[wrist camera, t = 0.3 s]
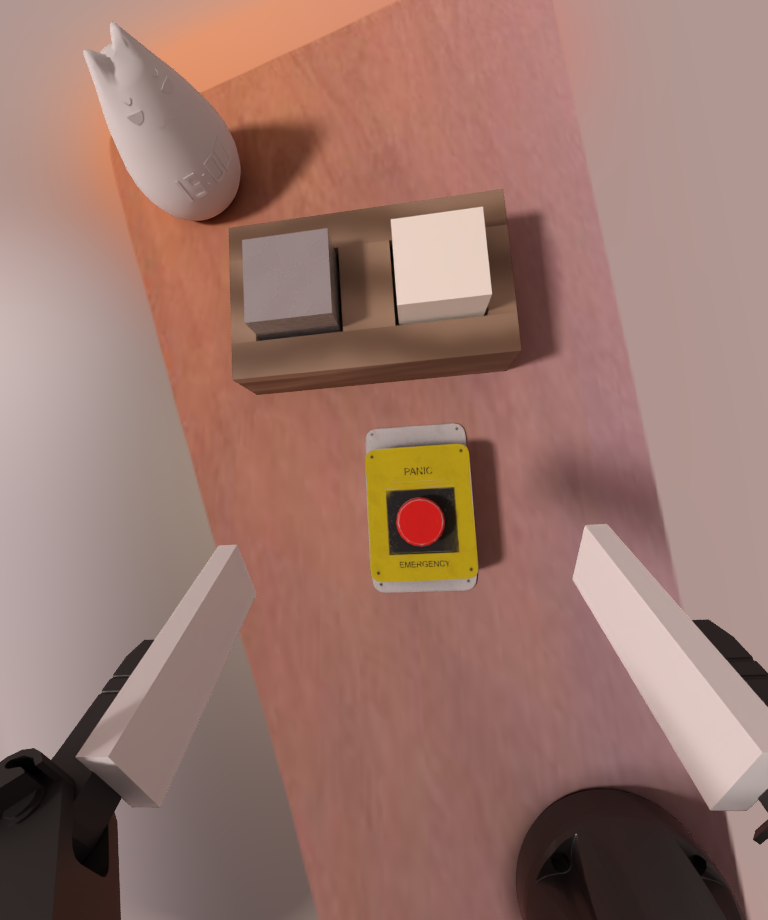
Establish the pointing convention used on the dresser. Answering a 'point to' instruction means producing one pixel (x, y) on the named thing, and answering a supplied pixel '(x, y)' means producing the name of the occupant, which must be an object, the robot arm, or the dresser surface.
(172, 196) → the toy character
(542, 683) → the dresser surface
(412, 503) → the emergency button
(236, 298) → the brown wooden flat block
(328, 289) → the steel key
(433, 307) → the cream key
